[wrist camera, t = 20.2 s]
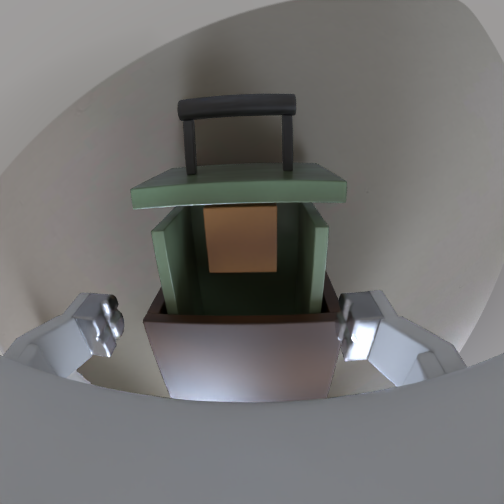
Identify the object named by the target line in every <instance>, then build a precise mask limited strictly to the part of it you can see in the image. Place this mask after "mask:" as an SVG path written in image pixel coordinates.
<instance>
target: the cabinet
mask: <svg viewBox="0 0 504 504" xmlns="http://www.w3.org/2000/svg"><path fill="white" fill-rule="evenodd" d="M338 302H339V301H338V298H337V296H336V293H335V291H334V288H333V286H332V284H331V281H330V279H329V277H328V274H327V272H326V270H325V280H324V289H323V297H322V306H321V313H316V314H293V315H251V316H216V315H174V314H168V312H167V308H166V304H165V299H164V295H163V290H162V286H161V288H160V290H159V292H158V293H157V295H156V297H155V299H154V301H153V303H152V304H151V306H150V308H149V310H148V312H147V314H146V316H145V317H144V319H143V324H144V327H145V330H146V333H147V336H148V339H149V342H150V345H151V348H152V351H153V353H154V356H155V359H156V362H157V364H158V367H159V370H160V372H161V375H162V377H163V380H164V382H165V385H166V387H167V390H168V392H169V395H170V397H171V398H175V399H185V400H198V401H214V402H284V401H301V400H313V399H324V398H327V396H328V393H329V389H330V385H331V382H332V378H333V374H334V370H335V367H336V363H337V359H338V354H339V350H340V346H341V341H340V340H339V339H338V338H337V335H336V329H335V321H336V314H337V313H338V311H339V310H340V306H339V304H338Z"/></svg>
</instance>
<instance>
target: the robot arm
mask: <svg viewBox="0 0 504 504" xmlns="http://www.w3.org/2000/svg"><path fill="white" fill-rule="evenodd" d="M338 304H339V306H340V310H339V311H338V313H337V314H336V321H335V329H336V335H337V338H338V339H339V340H340V341H341V342H342V344H341V351H342V354H343V357H344V360H345V361H356V360H366V359H368V361H369V362H370V363H371V364H372V365H373V366H375V367H376V368H377V369H378V370H379V371H380V372H381V373H382V374H383V375H385V376H386V377H387V378H388V379H389V380H390V381H391V382H392V383H393V384H395V385H396V386H397V387H394V388H389V389H384V390H379V391H373V392H368V393H362V394H355V395H348V396H341V397H333V398H324V399H313V400H301V401H284V402H214V401H198V400H185V399H175V398H166V397H158V396H150V395H143V394H137V393H131V392H125V391H120V390H114V389H109V388H105V387H100V386H96V385H91V384H87V383H83V382H79V381H75V380H71V379H68V378H67V377H68V376H69V375H70V374H71V373H72V372H74V371H75V370H76V369H77V368H78V367H80V366H81V365H82V364H83V363H84V362H86V361H87V360H88V359H89V358H90V357H92V355H98V356H105V357H111V355H112V353H113V351H114V349H115V347H116V340H117V339H119V338H120V337H121V336H122V334H123V331H124V319H123V316H122V313H121V312H120V311H119V310H118V309H117V307H118V301H117V299H116V297H115V296H114V295H111V294H98V293H80V294H79V295H78V296H77V297H76V299H75V300H74V301H73V302H72V303H71V305H70V306H69V307H68V308H67V309H66V311H65V312H64V313H63V314H62V316H60V315H59V316H57V317H55V318H53V319H51V320H49V321H47V322H46V323H44V324H42V325H40V326H38V327H36V328H34V329H33V330H31V331H29V332H27V333H25V334H24V335H22V336H20V337H18V338H16V340H15V341H14V342H13V343H12V345H11V346H10V347H9V349H8V350H7V351H6V353H5V354H4V355H3V356H1V355H0V504H504V353H503V354H500V355H498V356H495V357H493V358H491V359H488V360H485V361H483V362H480V363H478V364H475V365H472V366H469V367H467V366H466V364H465V363H464V361H463V360H462V358H461V356H460V355H459V353H458V352H457V350H456V349H455V347H454V345H452V344H451V343H449V342H447V341H445V340H444V339H442V338H440V337H438V336H437V335H435V334H433V333H431V332H429V331H428V330H426V329H424V328H422V327H420V326H419V325H417V324H415V323H413V322H412V321H410V320H408V319H406V318H404V317H403V316H402V317H399V316H398V315H397V313H396V312H395V310H394V308H393V307H392V305H391V304H390V302H389V300H388V299H387V297H386V296H385V294H384V293H383V291H381V290H374V291H367V292H355V293H342V294H341V295H340V297H339V302H338Z"/></svg>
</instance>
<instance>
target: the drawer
mask: <svg viewBox="0 0 504 504" xmlns="http://www.w3.org/2000/svg"><path fill="white" fill-rule="evenodd" d="M295 114H296V97H295V94H241V95H224V96H212V97H202V98H193V99H185V100H180V101H179V102H178V116H179V119H180V120H181V121H183V128H184V145H185V159H186V167H182V168H172V169H170V170H168V171H166V172H164V173H162V174H160V175H157V176H155V177H153V178H151V179H149V180H147V181H145V182H144V183H142V184H140V185H138V186H136V187H134V188H132V189H131V198H132V205H133V209H146V208H159V207H175V206H176V207H175V208H174V209H173V210H172V211H171V212H170V213H169V214H168V215H167V216H166V217H165V218H164V219H163V220H162V221H161V222H160V223H159V224H158V225H157V226H156V227H155V228H154V229H153V230H152V231H151V234H152V240H153V245H154V251H155V256H156V262H157V267H158V272H159V276H160V281H161V286H162V290H163V295H164V299H165V304H166V308H167V312H168V314H174V315H216V316H251V315H293V314H316V313H321V306H322V297H323V289H324V280H325V270H326V259H327V248H328V235H329V226H328V225H327V223H326V222H325V221H324V219H323V218H322V216H321V215H320V213H319V212H318V210H317V209H316V208H315V206H314V205H313V203H312V202H321V203H345V202H346V194H347V181H345V180H344V179H342V178H341V177H339V176H337V175H336V174H334V173H332V172H331V171H329V170H327V169H326V168H324V167H322V166H320V165H319V164H317V163H293V125H292V116H294V115H295ZM264 115H282V159H283V163H250V164H225V165H208V166H197V159H196V144H195V126H194V120H197V119H207V118H219V117H235V116H264ZM239 203H276V204H277V272H244V273H210V272H209V265H208V256H207V247H206V237H205V227H204V216H203V208H204V206H205V205H212V204H239Z"/></svg>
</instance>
